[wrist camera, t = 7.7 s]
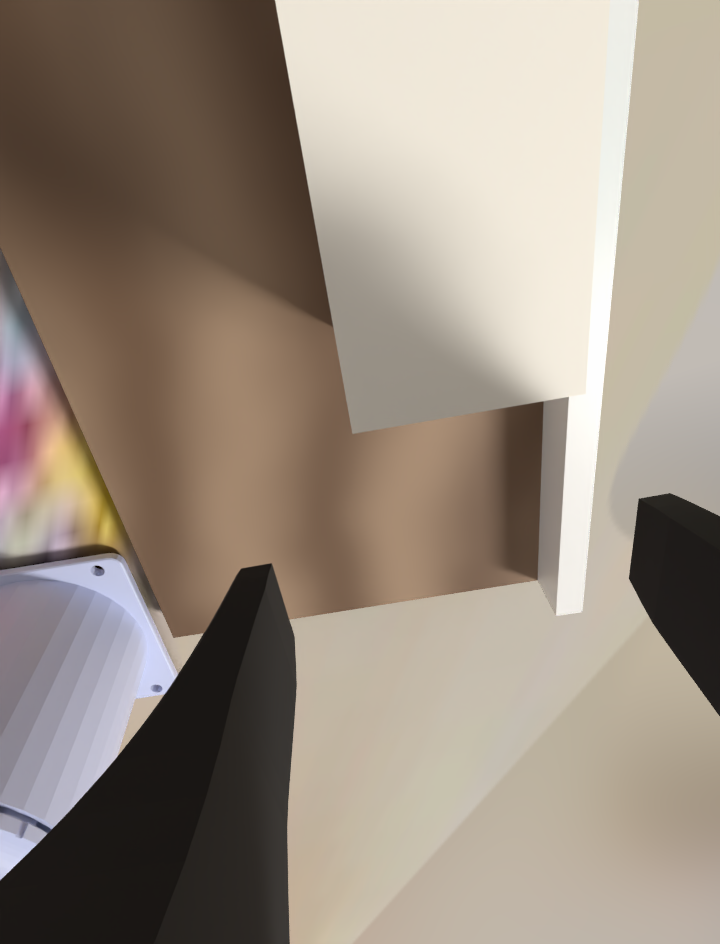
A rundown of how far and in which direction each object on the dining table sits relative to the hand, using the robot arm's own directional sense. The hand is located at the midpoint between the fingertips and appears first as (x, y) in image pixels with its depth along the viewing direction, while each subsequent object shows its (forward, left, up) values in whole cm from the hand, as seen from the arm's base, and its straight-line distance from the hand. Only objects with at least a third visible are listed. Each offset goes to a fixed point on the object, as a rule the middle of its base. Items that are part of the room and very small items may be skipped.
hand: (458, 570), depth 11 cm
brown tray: (-2, +2, -10) cm, 10 cm away
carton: (+1, +6, -8) cm, 10 cm away
